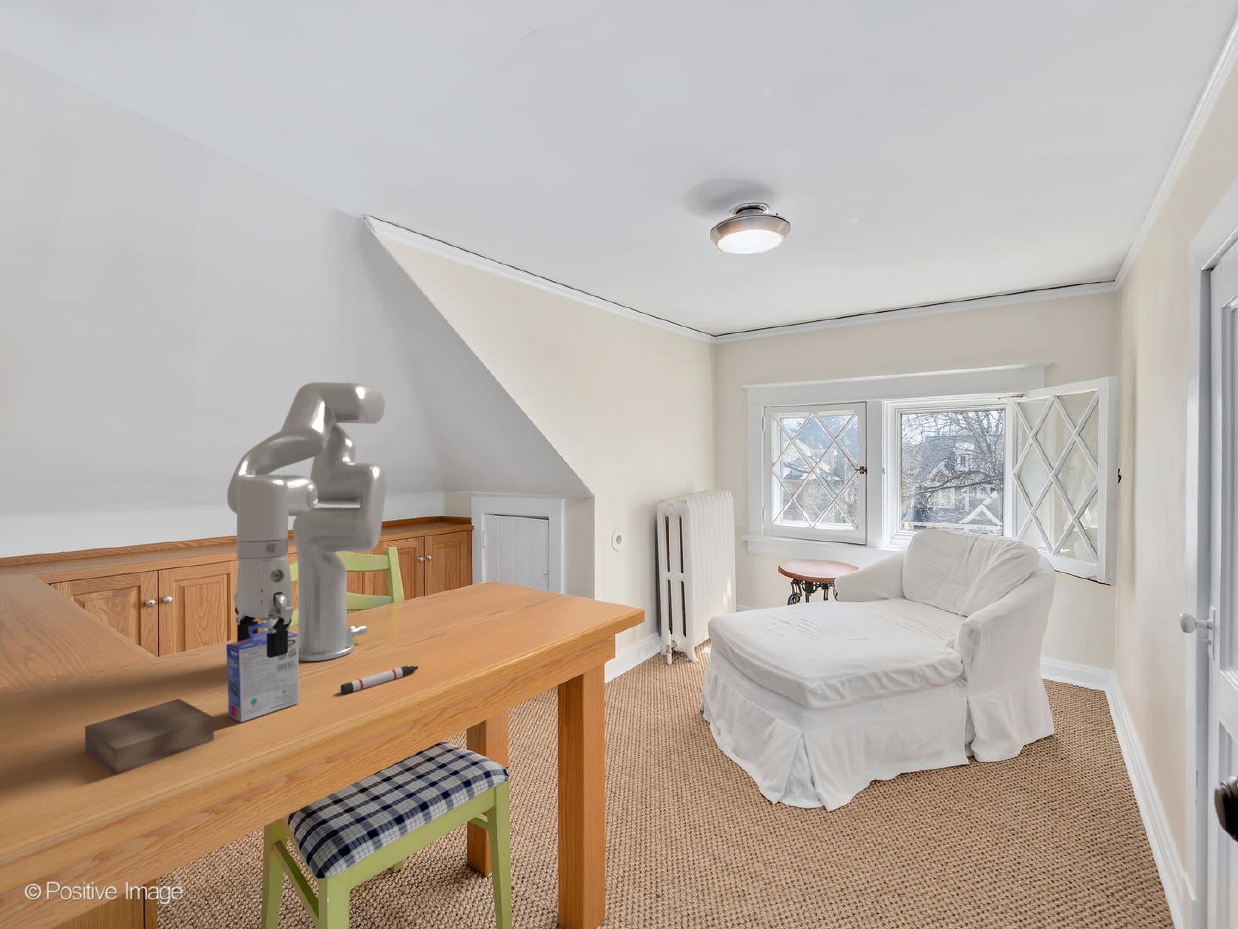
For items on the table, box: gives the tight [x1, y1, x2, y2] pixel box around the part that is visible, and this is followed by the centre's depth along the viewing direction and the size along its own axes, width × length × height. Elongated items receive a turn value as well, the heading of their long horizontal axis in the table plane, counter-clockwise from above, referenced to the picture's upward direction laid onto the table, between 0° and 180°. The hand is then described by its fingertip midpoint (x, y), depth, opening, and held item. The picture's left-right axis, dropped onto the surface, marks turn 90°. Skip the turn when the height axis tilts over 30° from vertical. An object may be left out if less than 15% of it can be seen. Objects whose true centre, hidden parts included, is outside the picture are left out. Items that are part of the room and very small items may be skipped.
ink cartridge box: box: [225, 622, 300, 723], centre depth 104 cm, size 10×6×14 cm, turn 145°
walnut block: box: [84, 698, 215, 776], centre depth 91 cm, size 12×12×4 cm
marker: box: [340, 665, 419, 696], centre depth 117 cm, size 15×2×2 cm, turn 139°
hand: (262, 650), depth 103 cm, fingers open, 9 cm apart
